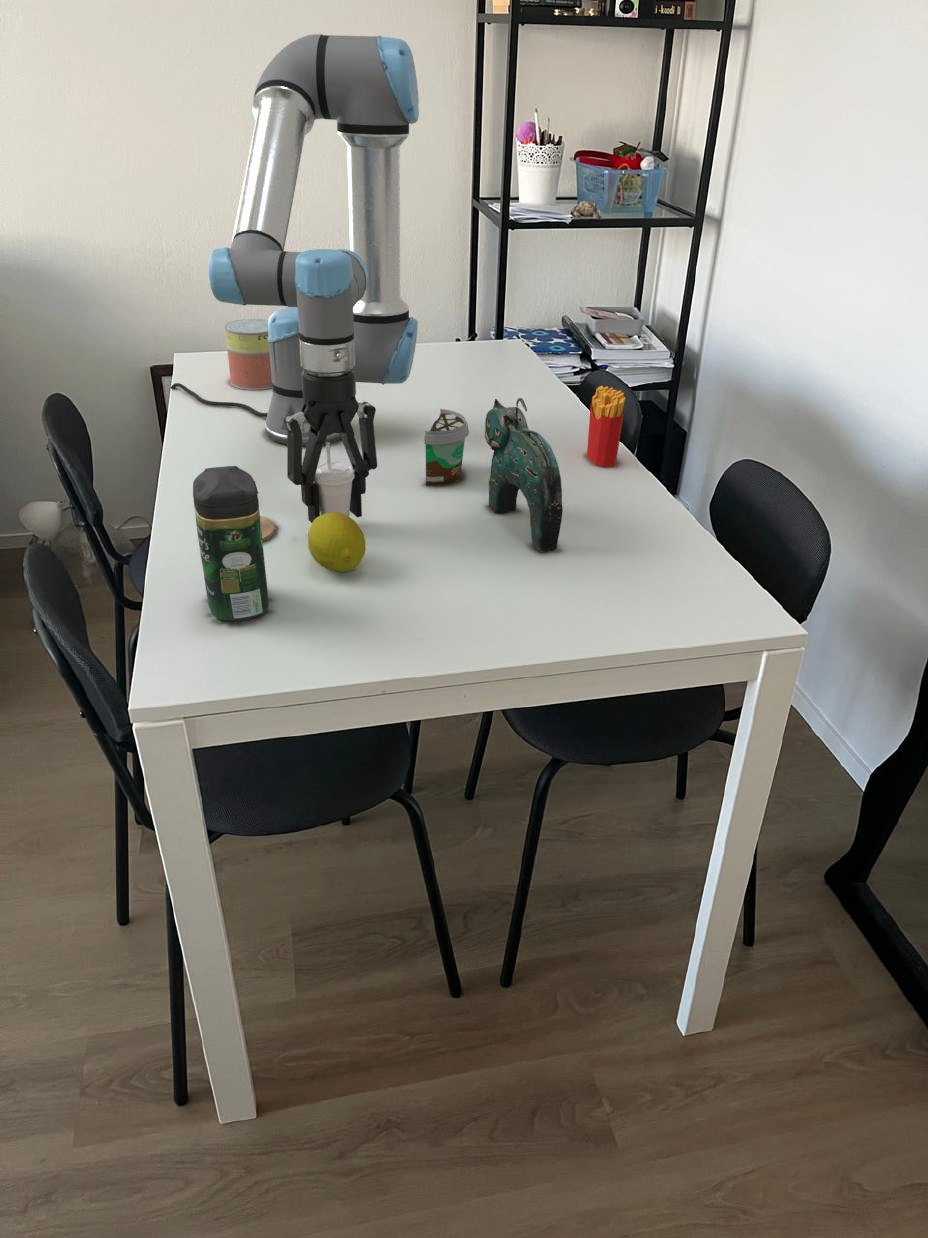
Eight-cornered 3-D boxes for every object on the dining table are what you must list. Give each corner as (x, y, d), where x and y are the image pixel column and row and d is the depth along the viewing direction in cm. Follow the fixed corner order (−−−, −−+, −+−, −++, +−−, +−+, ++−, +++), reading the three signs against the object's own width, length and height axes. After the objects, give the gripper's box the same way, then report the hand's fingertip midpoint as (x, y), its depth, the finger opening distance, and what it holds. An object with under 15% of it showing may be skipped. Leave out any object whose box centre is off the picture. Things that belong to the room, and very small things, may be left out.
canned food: (278, 390, 200) (273, 333, 194) (224, 389, 200) (218, 331, 194) (287, 374, 210) (283, 319, 203) (236, 372, 210) (231, 317, 203)
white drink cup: (326, 517, 149) (321, 432, 141) (363, 524, 147) (360, 438, 140) (307, 534, 144) (301, 447, 136) (345, 541, 142) (341, 454, 135)
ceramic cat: (477, 503, 155) (482, 383, 144) (513, 497, 157) (520, 379, 147) (532, 557, 140) (542, 427, 129) (571, 550, 142) (583, 422, 131)
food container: (459, 492, 158) (461, 435, 153) (424, 488, 159) (424, 432, 154) (473, 465, 169) (475, 411, 163) (440, 461, 170) (441, 407, 164)
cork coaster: (198, 525, 145) (197, 522, 145) (259, 512, 150) (259, 509, 149) (221, 552, 138) (220, 548, 138) (285, 537, 142) (284, 534, 142)
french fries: (581, 451, 176) (588, 383, 169) (603, 450, 177) (611, 381, 170) (600, 470, 168) (608, 399, 161) (622, 469, 169) (631, 398, 162)
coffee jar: (204, 591, 128) (187, 463, 118) (263, 584, 130) (251, 457, 121) (210, 628, 120) (192, 494, 111) (273, 620, 123) (261, 487, 113)
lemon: (373, 580, 132) (372, 528, 128) (318, 588, 130) (315, 536, 126) (355, 546, 141) (353, 496, 137) (303, 552, 139) (299, 502, 134)
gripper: (274, 386, 125) (286, 541, 137) (401, 366, 134) (402, 514, 146) (253, 370, 130) (266, 522, 143) (376, 353, 139) (379, 497, 152)
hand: (335, 518), depth 144 cm, fingers closed on white drink cup, 6 cm apart
